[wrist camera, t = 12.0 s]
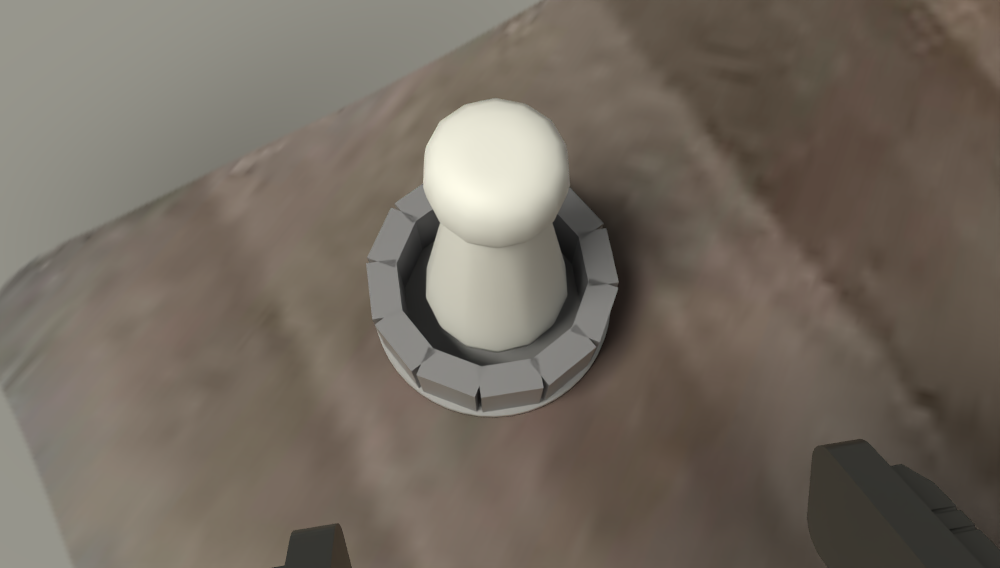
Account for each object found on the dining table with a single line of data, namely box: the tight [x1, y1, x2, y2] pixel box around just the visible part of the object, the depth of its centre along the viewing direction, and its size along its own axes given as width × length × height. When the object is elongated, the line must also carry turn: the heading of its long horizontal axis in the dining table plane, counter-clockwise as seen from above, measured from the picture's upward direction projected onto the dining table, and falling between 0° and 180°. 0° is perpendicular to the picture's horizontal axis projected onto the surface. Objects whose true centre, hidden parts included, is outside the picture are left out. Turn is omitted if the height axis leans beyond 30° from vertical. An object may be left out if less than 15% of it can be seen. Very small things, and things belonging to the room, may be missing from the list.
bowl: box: [366, 184, 619, 418], centre depth 32 cm, size 10×10×4 cm
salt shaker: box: [423, 98, 570, 353], centre depth 27 cm, size 6×6×13 cm
